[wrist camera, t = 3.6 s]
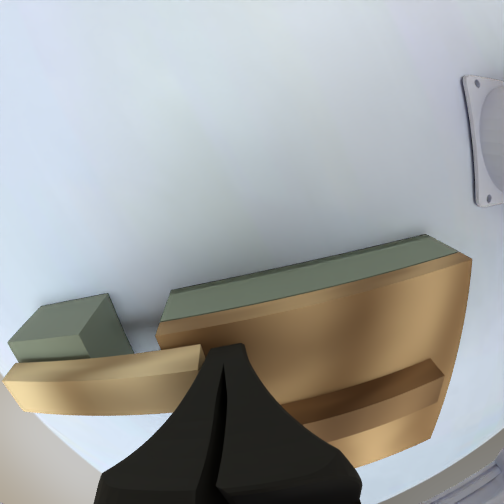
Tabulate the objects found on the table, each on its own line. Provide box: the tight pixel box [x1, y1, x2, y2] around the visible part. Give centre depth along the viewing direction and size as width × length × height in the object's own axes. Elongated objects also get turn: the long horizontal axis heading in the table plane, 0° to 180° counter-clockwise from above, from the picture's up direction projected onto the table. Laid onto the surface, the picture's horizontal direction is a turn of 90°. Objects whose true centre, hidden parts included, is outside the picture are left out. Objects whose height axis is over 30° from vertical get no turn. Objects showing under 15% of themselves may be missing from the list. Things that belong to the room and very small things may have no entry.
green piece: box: [160, 234, 458, 322], centre depth 16 cm, size 14×14×3 cm
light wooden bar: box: [2, 344, 205, 416], centre depth 11 cm, size 10×2×2 cm, turn 101°
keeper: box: [7, 293, 134, 363], centre depth 14 cm, size 5×4×4 cm
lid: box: [155, 252, 472, 468], centre depth 13 cm, size 14×14×2 cm
